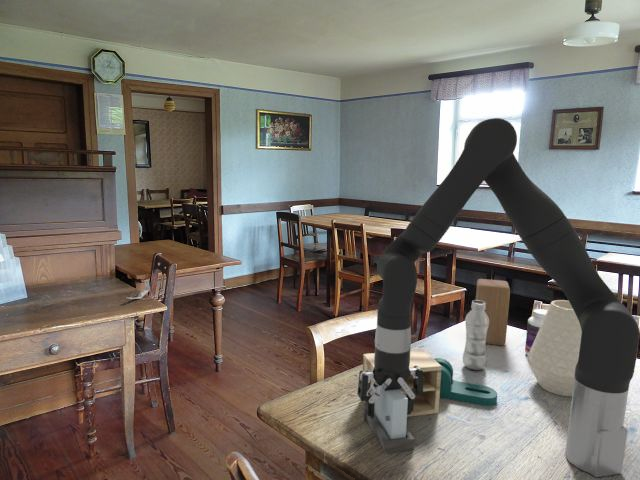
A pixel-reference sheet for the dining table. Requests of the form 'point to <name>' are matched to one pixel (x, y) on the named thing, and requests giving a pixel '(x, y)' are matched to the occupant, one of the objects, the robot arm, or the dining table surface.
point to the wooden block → (495, 308)
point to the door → (392, 413)
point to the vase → (556, 349)
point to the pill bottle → (534, 327)
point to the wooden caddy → (422, 404)
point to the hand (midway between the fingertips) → (389, 414)
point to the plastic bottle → (476, 336)
